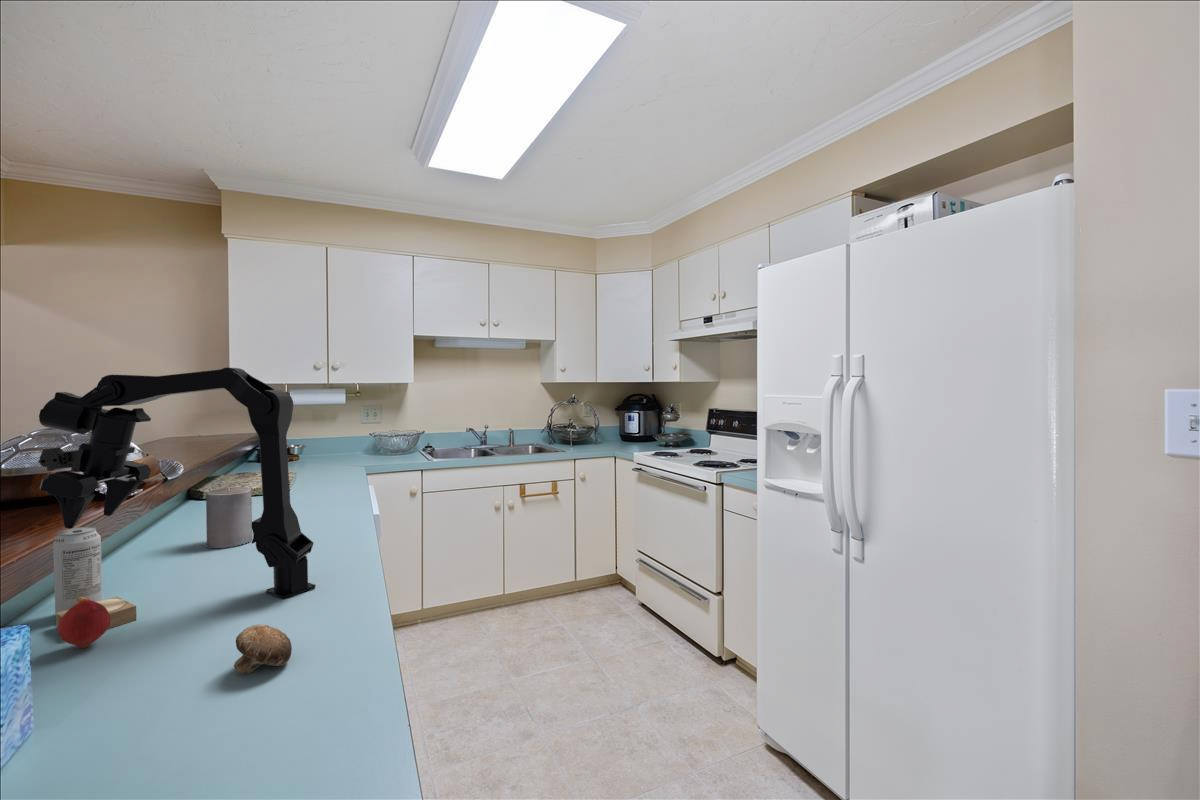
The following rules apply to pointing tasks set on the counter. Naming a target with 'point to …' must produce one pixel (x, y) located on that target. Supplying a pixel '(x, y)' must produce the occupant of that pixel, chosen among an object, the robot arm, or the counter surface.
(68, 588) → the energy drink can
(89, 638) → the pomegranate
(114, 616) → the pedestal
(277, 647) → the mushroom
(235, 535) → the pillar candle
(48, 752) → the counter surface
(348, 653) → the counter surface
